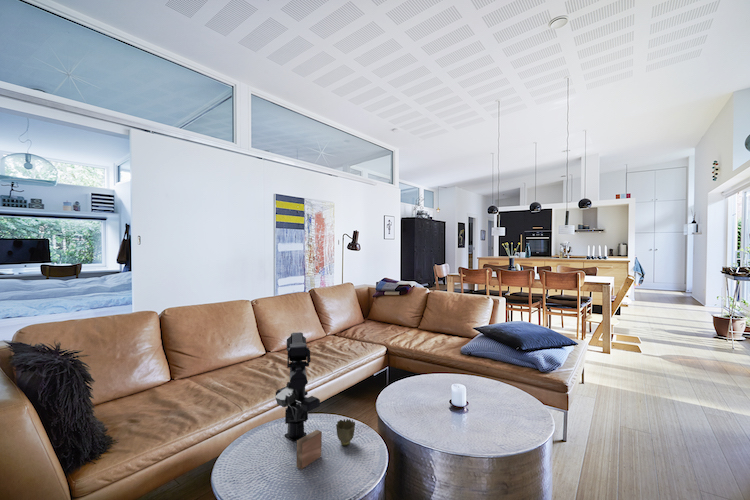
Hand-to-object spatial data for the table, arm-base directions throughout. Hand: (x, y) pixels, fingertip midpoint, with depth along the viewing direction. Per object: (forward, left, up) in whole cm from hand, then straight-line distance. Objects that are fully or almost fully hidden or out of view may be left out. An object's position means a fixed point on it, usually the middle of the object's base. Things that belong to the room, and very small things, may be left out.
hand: (296, 421), depth 122 cm
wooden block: (+7, 0, -12) cm, 14 cm away
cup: (+10, +16, -12) cm, 22 cm away
